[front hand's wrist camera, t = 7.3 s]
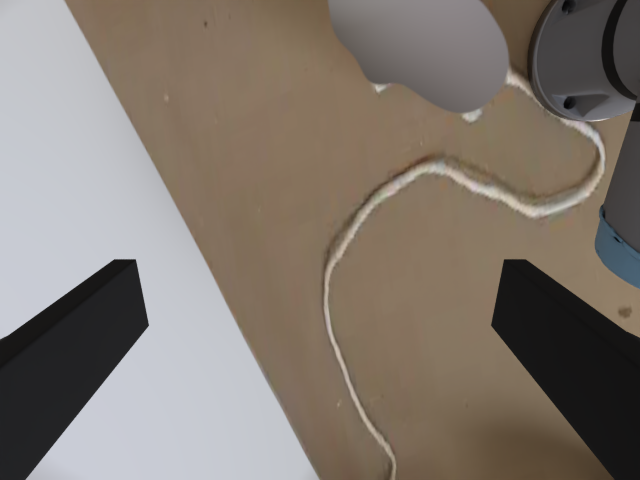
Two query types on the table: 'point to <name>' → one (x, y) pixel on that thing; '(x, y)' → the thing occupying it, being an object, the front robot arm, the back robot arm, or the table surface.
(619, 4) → the front robot arm
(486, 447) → the table surface
